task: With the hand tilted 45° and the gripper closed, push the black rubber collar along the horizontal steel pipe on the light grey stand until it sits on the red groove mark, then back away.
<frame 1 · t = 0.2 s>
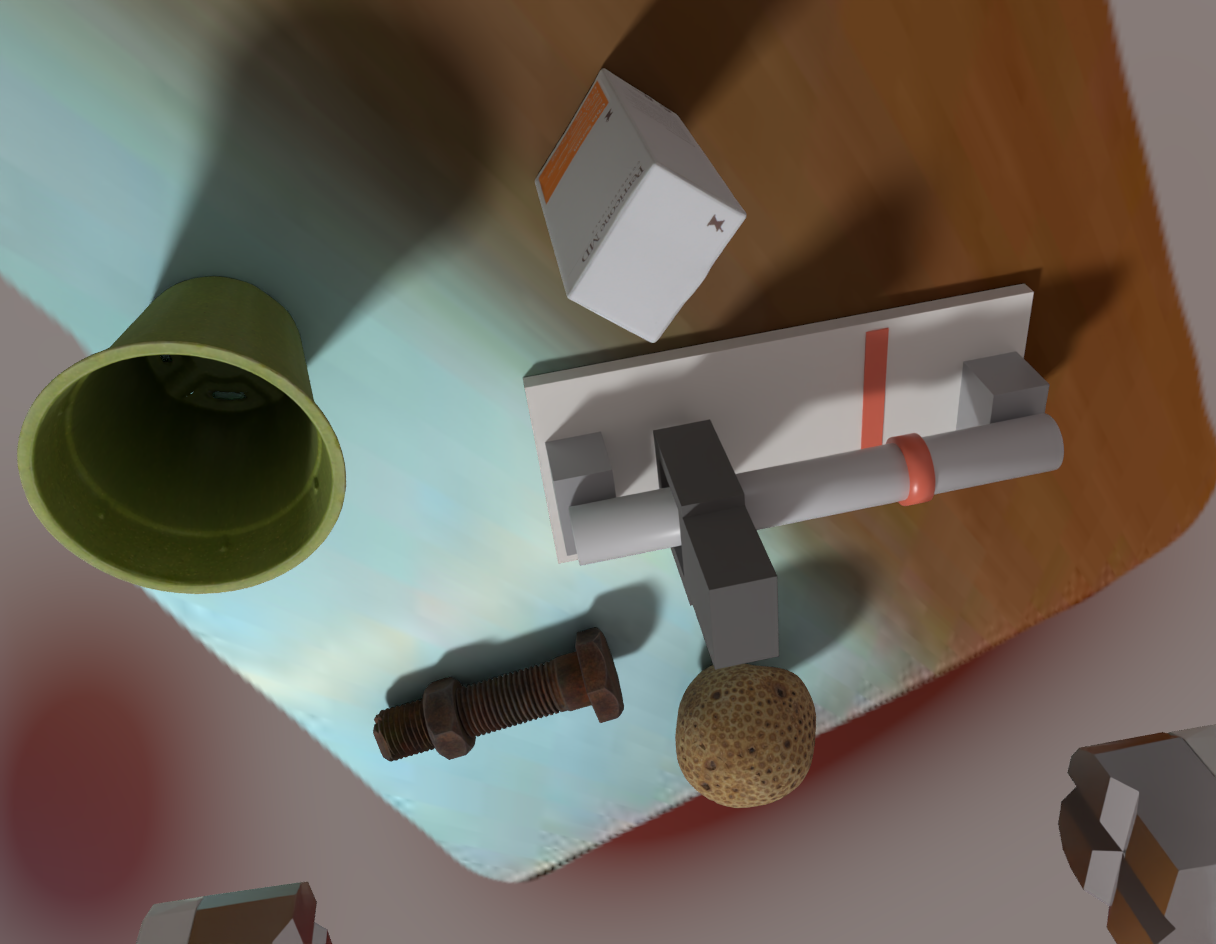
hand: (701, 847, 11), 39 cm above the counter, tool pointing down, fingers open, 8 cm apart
bolt: (492, 672, 65), on the counter
collar: (712, 542, 50), point 8 cm above the counter, slide at -6.0 cm
pipe stand: (779, 424, 57), on the counter
natural sponge: (723, 667, 68), on the counter
plant pot: (225, 338, 49), on the counter
skincare box: (602, 147, 46), on the counter
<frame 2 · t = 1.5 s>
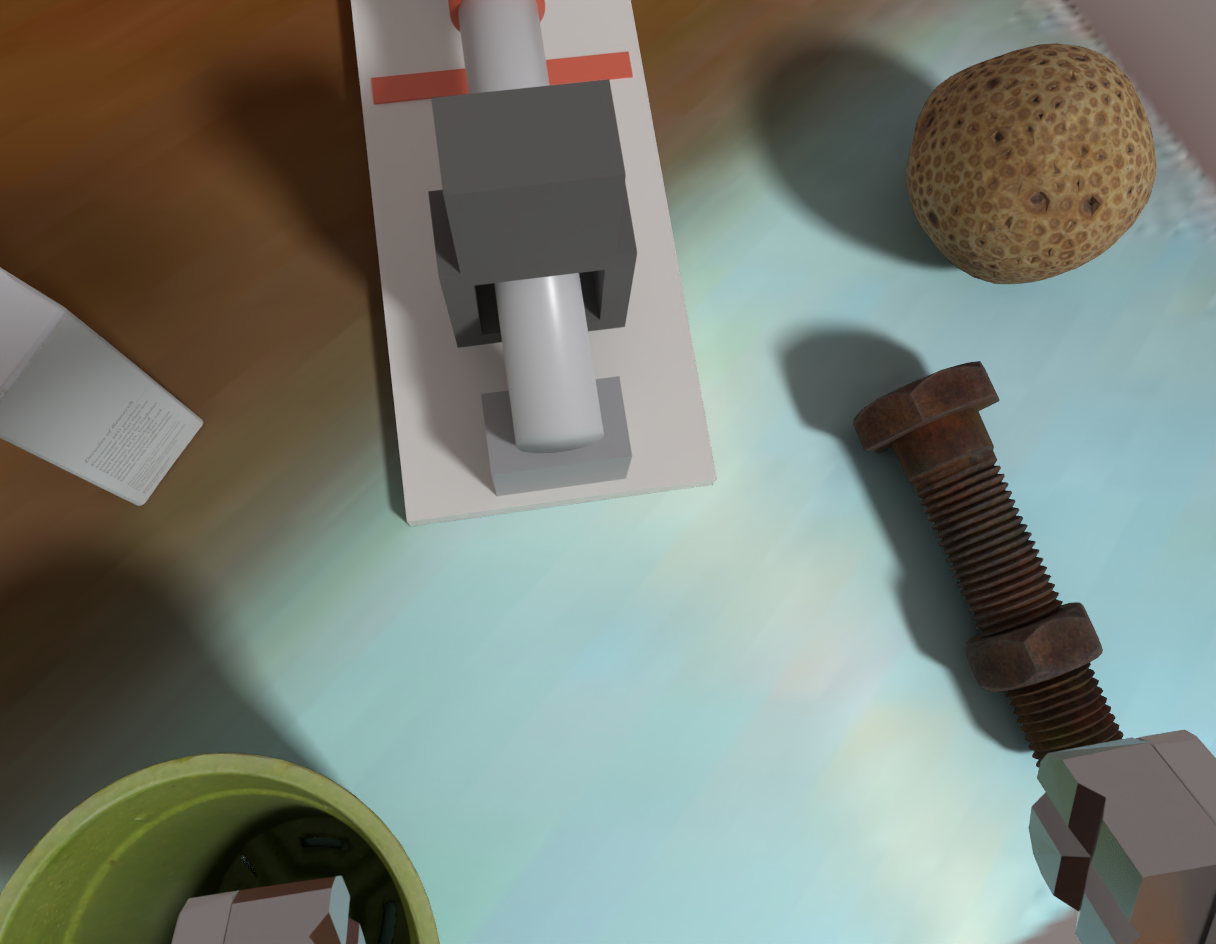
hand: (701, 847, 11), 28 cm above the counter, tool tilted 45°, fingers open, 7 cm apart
bolt: (969, 580, 41), on the counter
collar: (533, 232, 34), point 9 cm above the counter, slide at -6.0 cm
pipe stand: (519, 196, 43), on the counter
natural sponge: (969, 232, 44), on the counter
plant pot: (311, 915, 37), on the counter
skincare box: (117, 430, 40), on the counter
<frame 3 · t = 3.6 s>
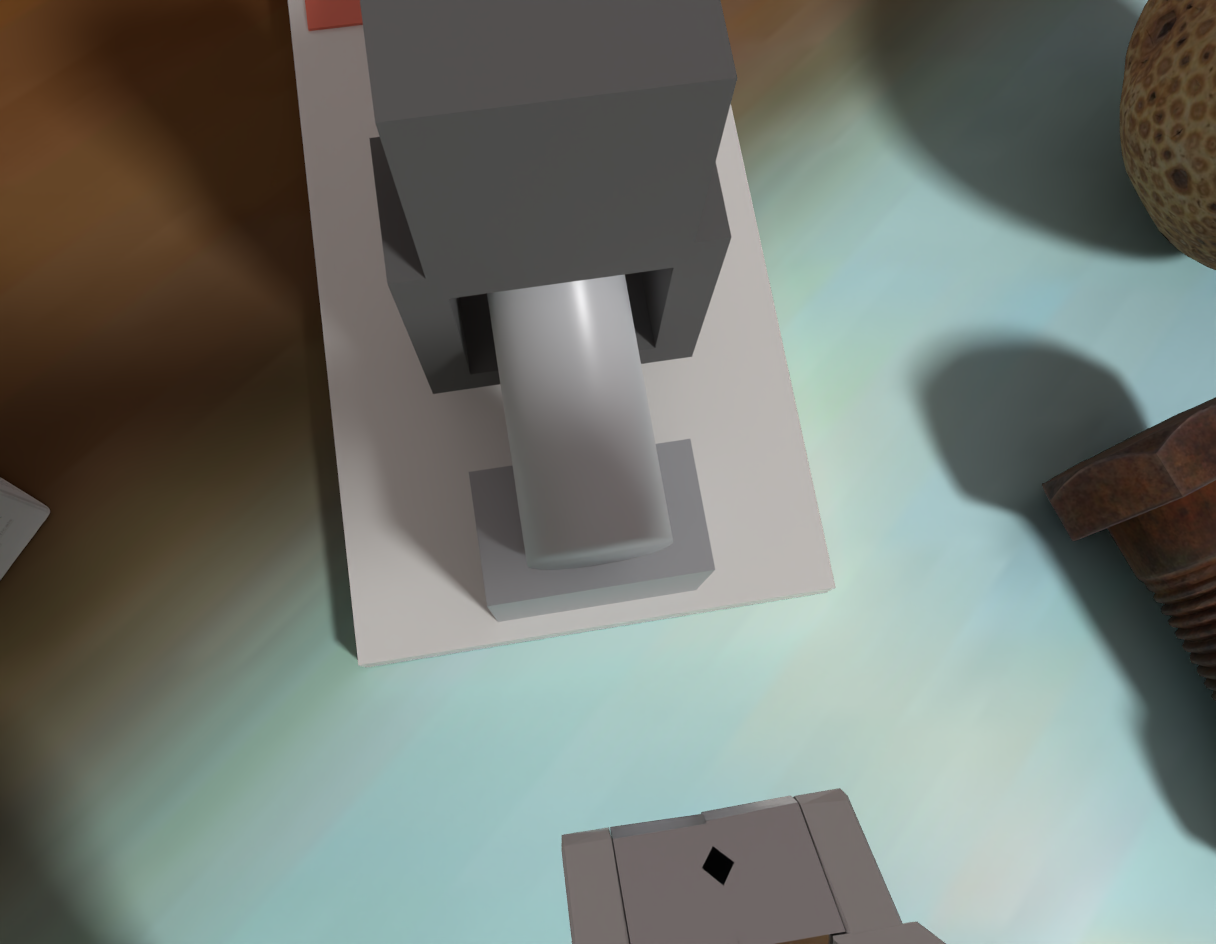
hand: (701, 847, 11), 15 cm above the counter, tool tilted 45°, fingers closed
collar: (550, 205, 20), point 9 cm above the counter, slide at -6.0 cm
pipe stand: (524, 162, 30), on the counter
natural sponge: (1184, 205, 30), on the counter
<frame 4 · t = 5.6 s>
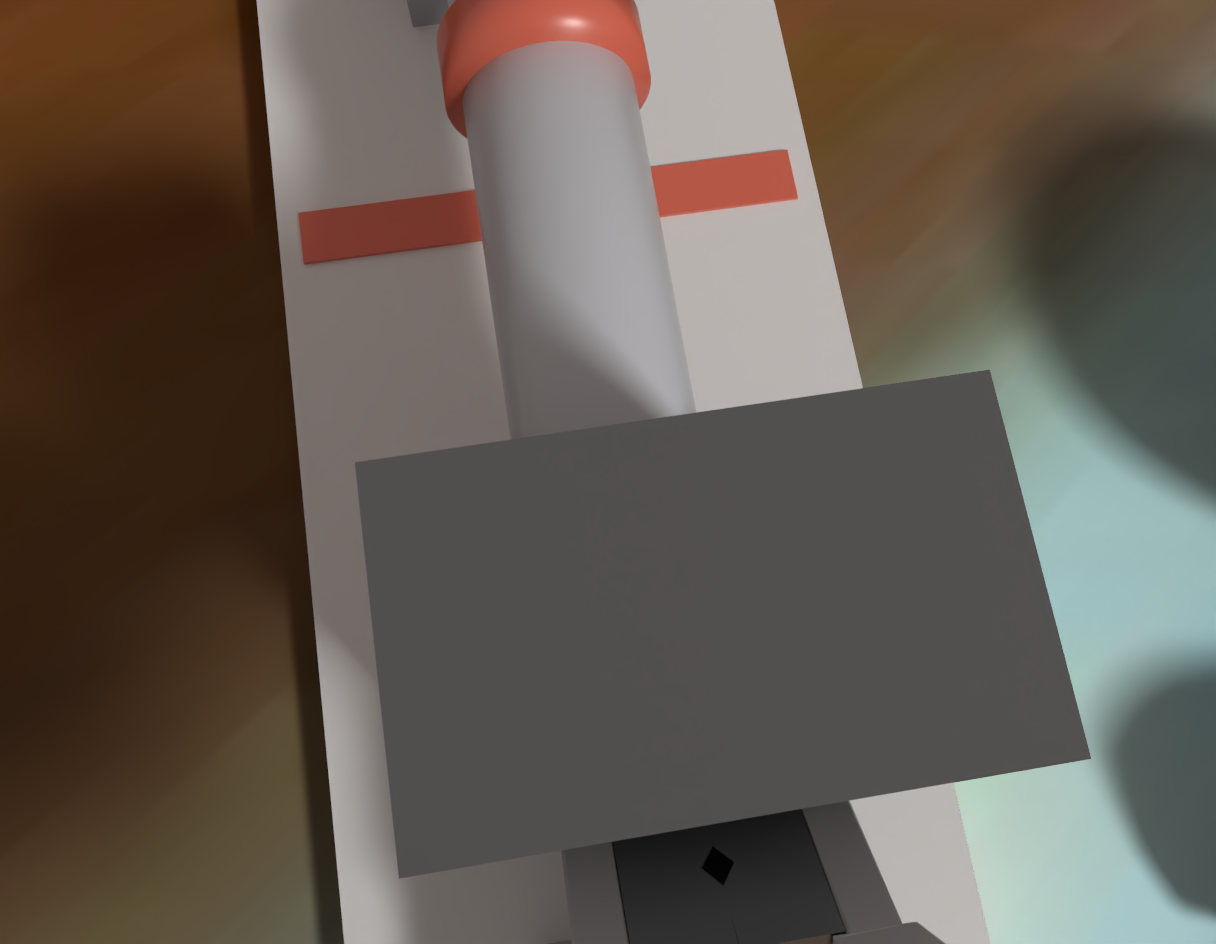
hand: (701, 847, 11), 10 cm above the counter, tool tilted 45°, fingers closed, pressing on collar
collar: (656, 656, 13), point 9 cm above the counter, slide at -5.5 cm, touching gripper
pipe stand: (584, 433, 23), on the counter
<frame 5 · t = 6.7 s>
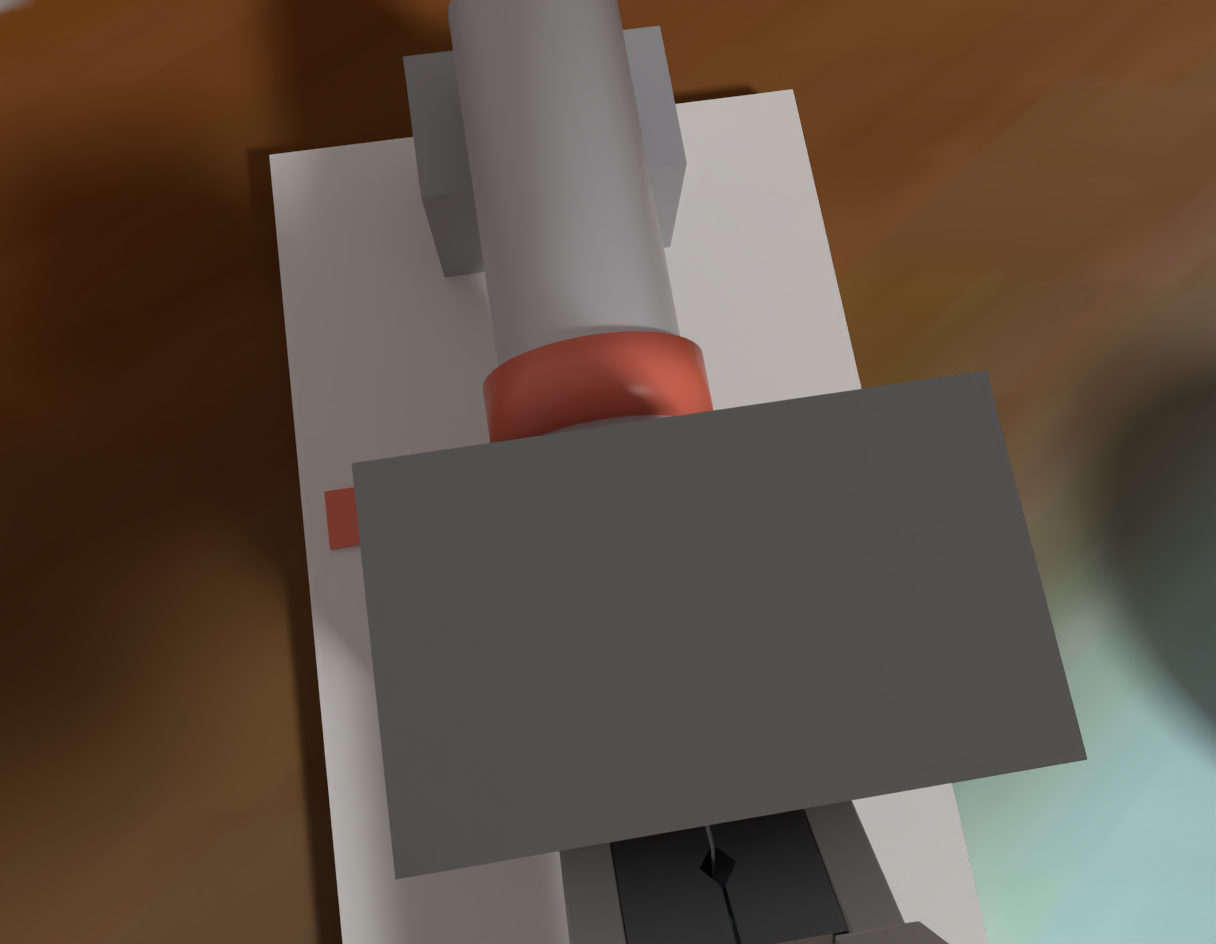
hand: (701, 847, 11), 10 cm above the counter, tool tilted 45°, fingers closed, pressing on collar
collar: (653, 656, 13), point 8 cm above the counter, slide at 0.9 cm, touching gripper
pipe stand: (630, 725, 21), on the counter
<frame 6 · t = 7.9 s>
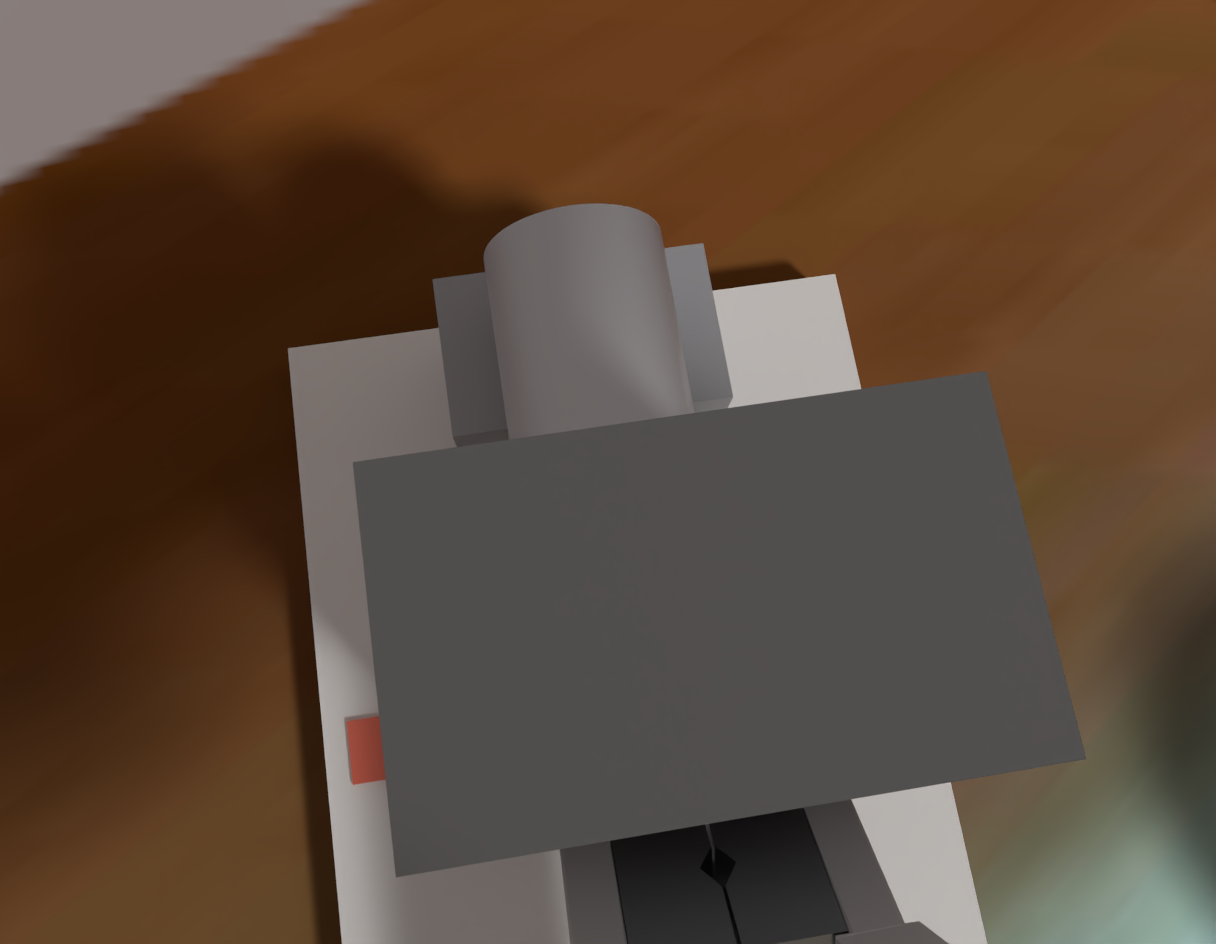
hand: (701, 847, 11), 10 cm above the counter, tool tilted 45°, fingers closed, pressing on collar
collar: (653, 656, 13), point 8 cm above the counter, slide at 5.5 cm, touching gripper
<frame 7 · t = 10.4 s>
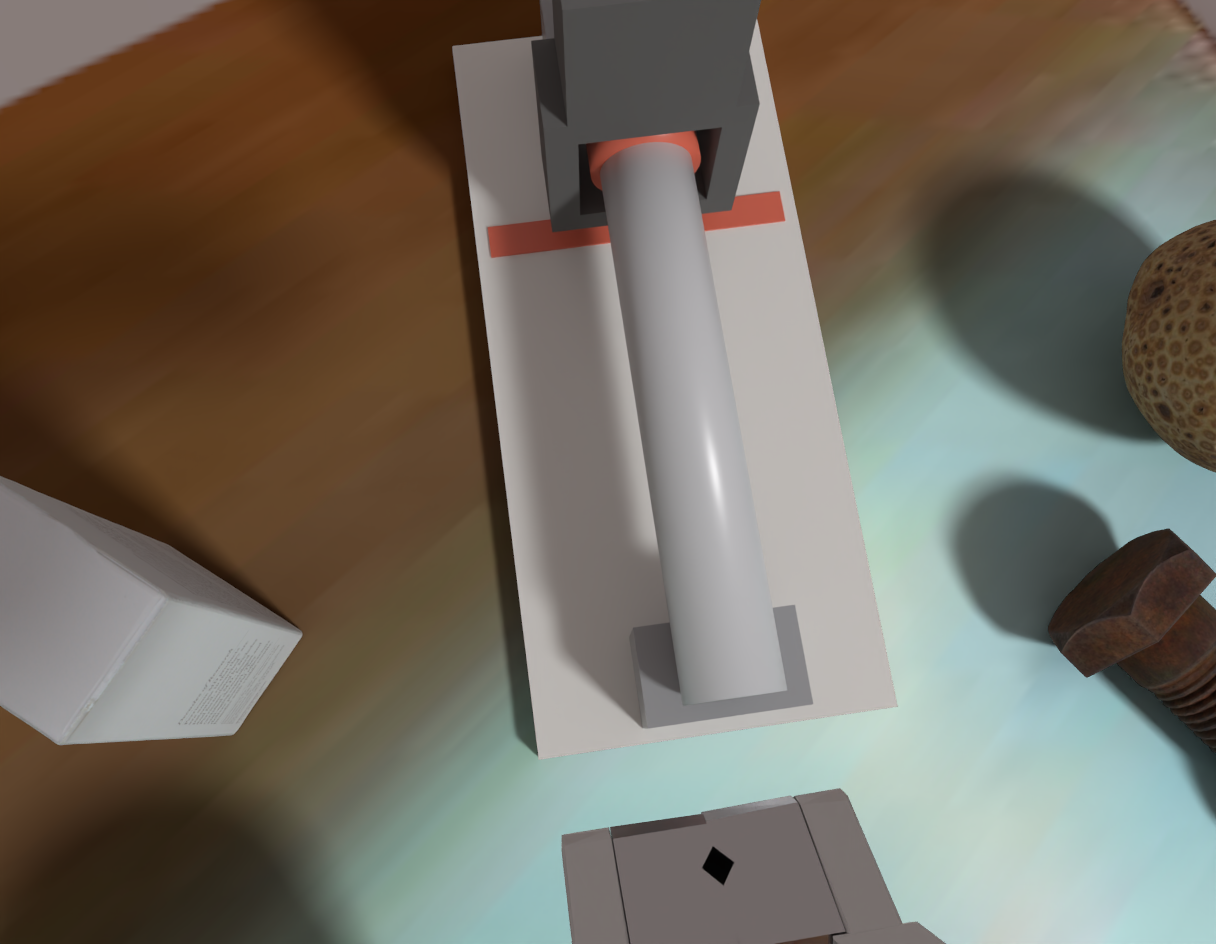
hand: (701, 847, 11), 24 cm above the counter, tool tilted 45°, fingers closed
collar: (643, 86, 31), point 8 cm above the counter, slide at 5.7 cm
pipe stand: (655, 359, 38), on the counter
natural sponge: (1176, 397, 38), on the counter
skincare box: (204, 641, 35), on the counter
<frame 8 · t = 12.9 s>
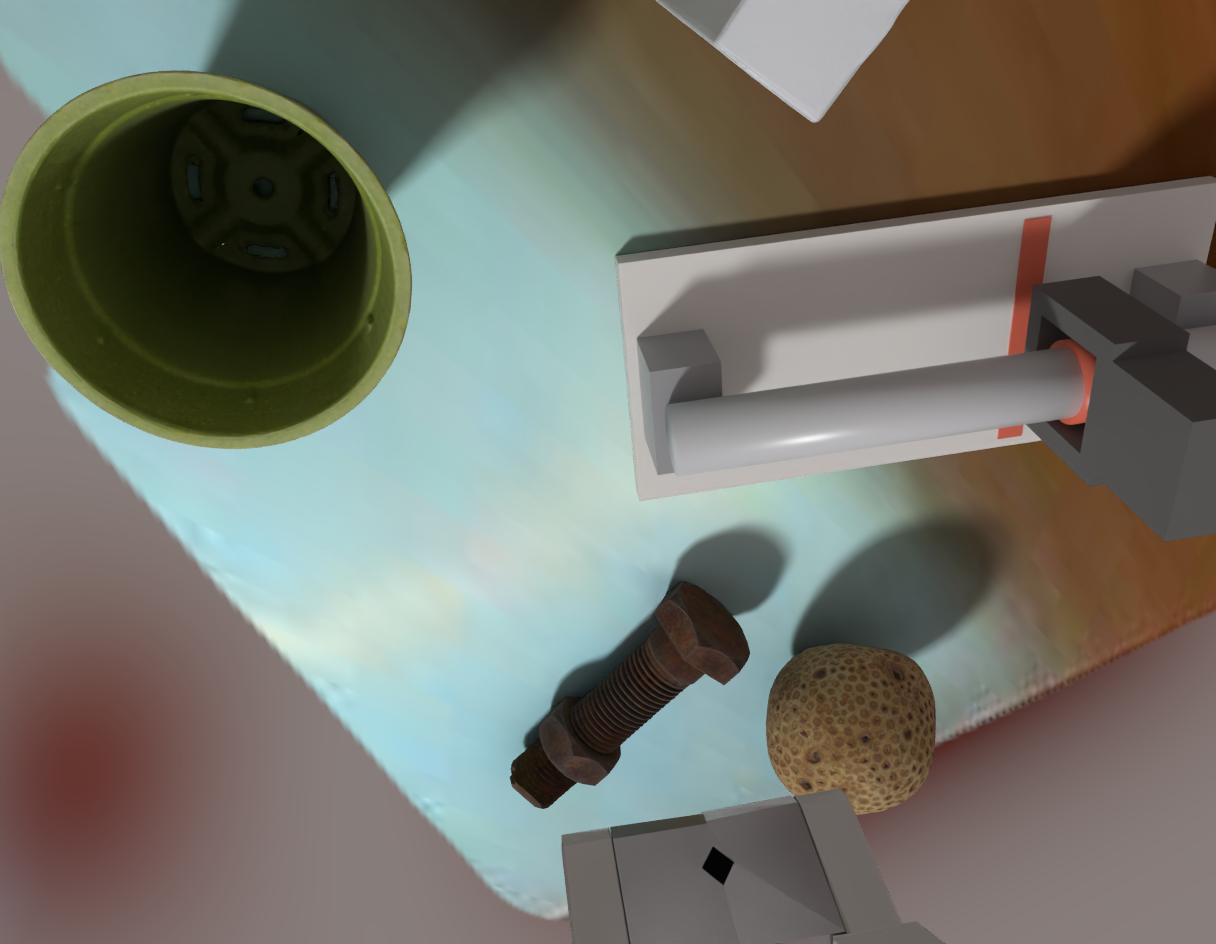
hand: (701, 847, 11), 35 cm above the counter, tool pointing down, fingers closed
bolt: (609, 674, 57), on the counter
collar: (1127, 405, 41), point 8 cm above the counter, slide at 5.7 cm
pipe stand: (909, 340, 48), on the counter
natural sponge: (818, 656, 58), on the counter
plant pot: (268, 178, 41), on the counter
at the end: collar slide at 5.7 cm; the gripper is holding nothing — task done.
